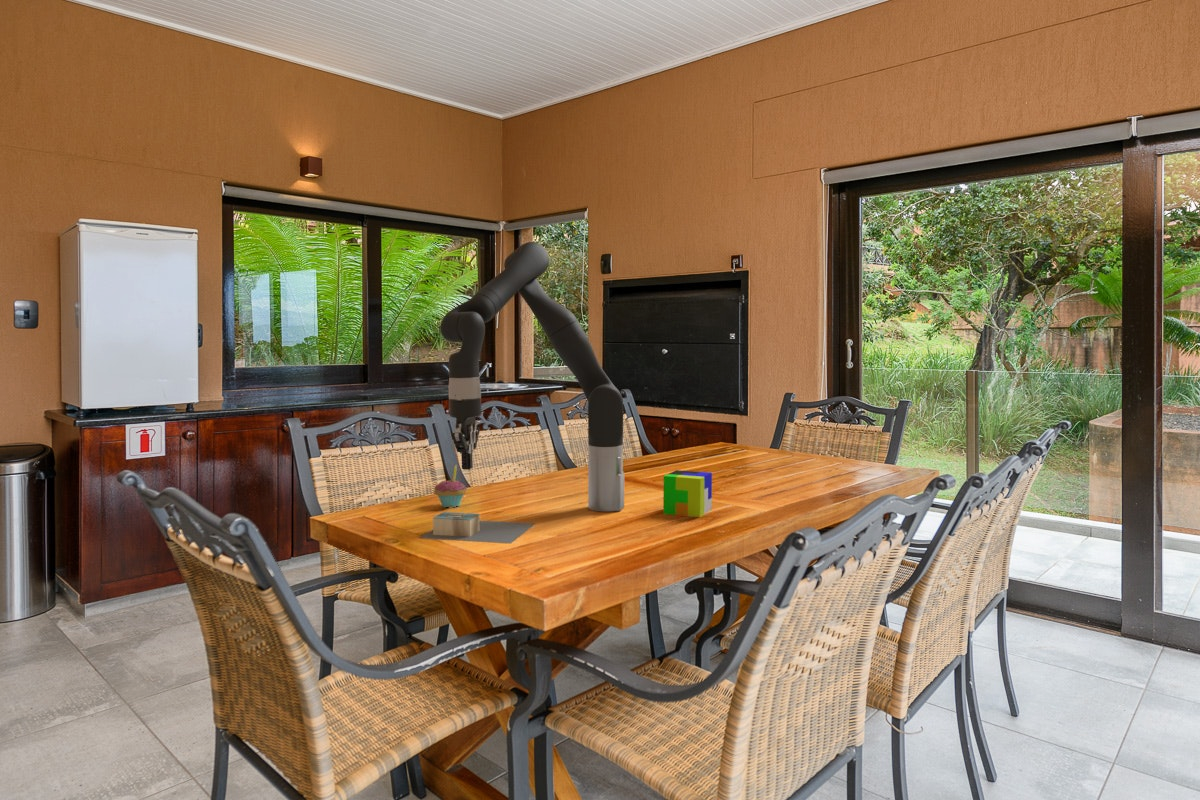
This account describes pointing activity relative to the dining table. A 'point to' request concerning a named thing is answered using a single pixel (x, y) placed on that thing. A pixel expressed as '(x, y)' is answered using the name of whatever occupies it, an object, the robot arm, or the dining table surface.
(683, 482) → the puzzle toy
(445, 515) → the block
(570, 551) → the dining table surface
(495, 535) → the mat
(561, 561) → the dining table surface
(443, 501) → the cupcake
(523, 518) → the dining table surface
